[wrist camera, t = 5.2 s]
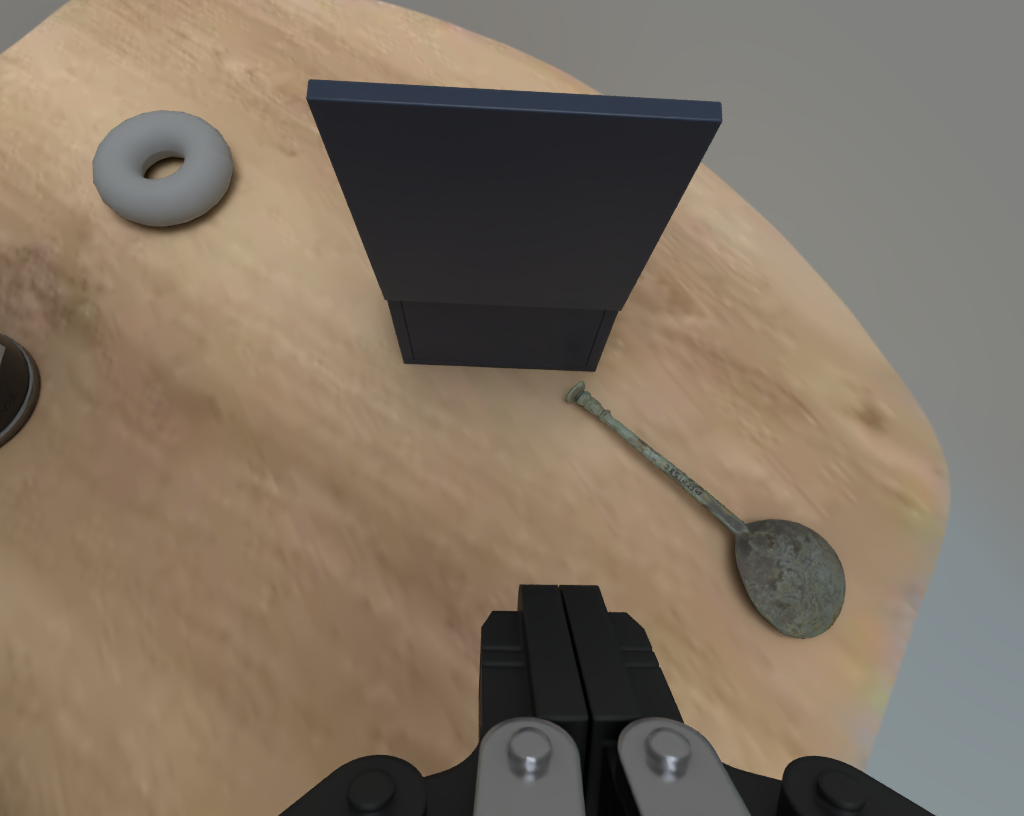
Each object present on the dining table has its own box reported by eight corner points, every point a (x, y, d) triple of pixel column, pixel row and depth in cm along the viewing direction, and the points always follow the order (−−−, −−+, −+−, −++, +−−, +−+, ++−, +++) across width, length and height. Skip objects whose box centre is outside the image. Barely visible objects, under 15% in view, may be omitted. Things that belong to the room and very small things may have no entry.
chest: (421, 186, 51) (409, 96, 43) (591, 195, 51) (611, 107, 43) (403, 363, 45) (386, 298, 37) (595, 371, 46) (619, 309, 37)
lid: (307, 77, 21) (304, 98, 21) (722, 100, 21) (723, 121, 21) (385, 287, 37) (384, 300, 36) (621, 298, 37) (621, 311, 37)
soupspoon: (797, 663, 40) (852, 586, 42) (828, 663, 36) (885, 579, 39) (540, 423, 44) (602, 364, 46) (548, 405, 41) (614, 342, 43)
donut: (96, 156, 51) (122, 253, 47) (70, 122, 48) (95, 222, 44) (221, 121, 53) (255, 211, 49) (204, 85, 50) (238, 179, 46)
